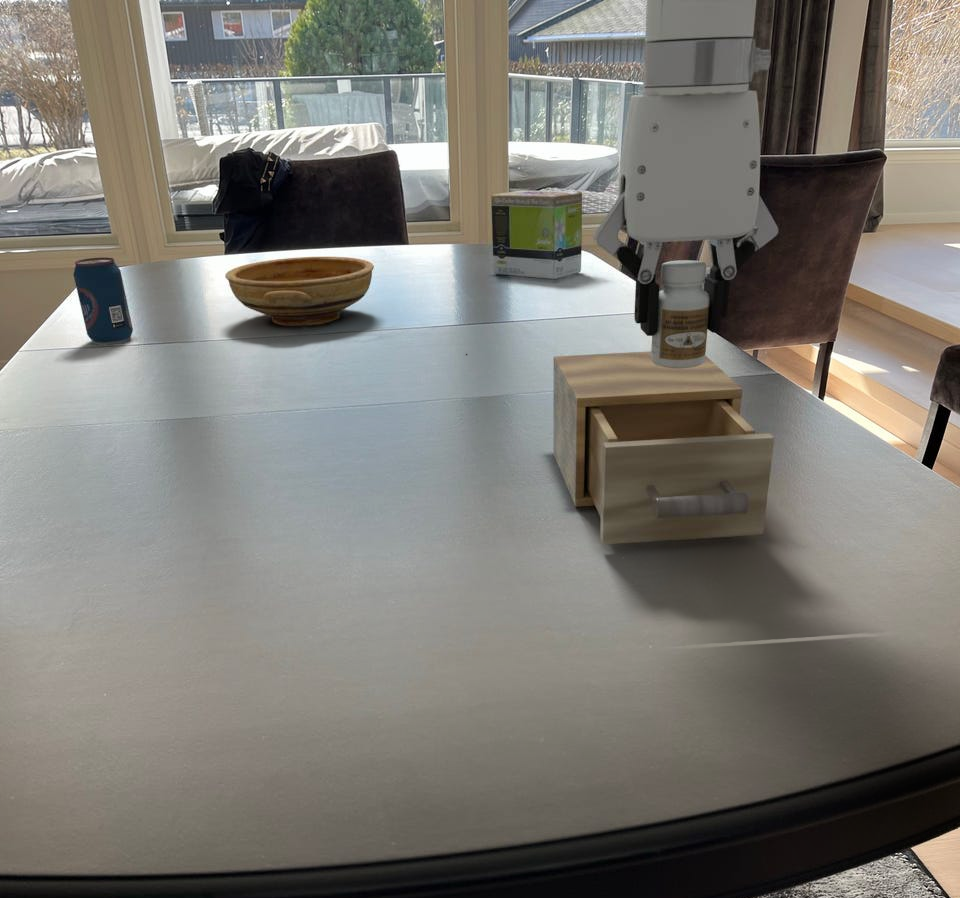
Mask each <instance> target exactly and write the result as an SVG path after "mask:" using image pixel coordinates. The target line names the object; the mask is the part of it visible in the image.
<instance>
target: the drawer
mask: <svg viewBox="0 0 960 898" xmlns="http://www.w3.org/2000/svg"><path fill="white" fill-rule="evenodd" d="M774 444H775V436H773V435H772V434H771V433H770V432H767V433H766V432H765V433H756V430H755V428H753V427H752V425H750V424H749V423H748V422H747V421H746V420H745V419H744V418H743V417H742V416H741V414H740V415H739V414H738V413H737V412H736V411H735V410H734V409H733V408H732V407H731V406H730V405H729V404H728V403H727V402H726V401H725V400H724V399H713V400H695V401H677V402H660V403H642V404H624V405H606V406H589V407H586V414H585V464H584V482H585V484H586V487H587V489H588V491H589V493H590V495H591V497H592V500H593V502H594V504H595V508H596V510H597V513H598V515H599V517H600V527H599V529H600V531H599V539H600V541H601V544H602V545H615V544H618V545H619V544H631V543H633V544H634V543H647V542H648V543H649V542H662V541H663V542H664V541H665V542H666V541H680V540H694V539H695V540H696V539H698V540H699V539H711V538H713V539H714V538H726V537H743V536H761V535H763V534H764V527H765V520H766V517H765V516H766V510H767V503H768V495H769V486H770V477H771V470H772V461H773V452H774V446H775V445H774Z"/></svg>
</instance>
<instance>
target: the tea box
mask: <svg viewBox="0 0 960 898" xmlns="http://www.w3.org/2000/svg"><path fill="white" fill-rule="evenodd" d="M490 198H491V199H490V201H491V204H490V205H491V236H492V237H491V239H492V240H491V241H492V265H493V266H492V267H493V270H494V271H493V270H492V271H493V274H494V275H504V276H516V277H517V276H518V277H530V278H541V279H550V280H556V279H562V278H564V277H565V278H566V277H569V276H572V275H576V274H578V273H581V271H582V250H583V249H582V247H583V246H582V245H583V244H582V243H583V242H582V241H583V236H582V235H583V192H582V191H576V190H575V191H574V190H571V191H565V190H563V191H562V190H529V189H528V190H526V189H525V190H521V189H520V190H513V191H506V192H501V193H494V194H492V195H490Z"/></svg>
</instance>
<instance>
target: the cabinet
mask: <svg viewBox="0 0 960 898" xmlns="http://www.w3.org/2000/svg"><path fill="white" fill-rule="evenodd" d="M742 398H743V388H742V387H741V386H740V385H739V384H738V383H737V382H736V381H735V380H733V379H732V378H731V377H730V376H729V375H728V374H727V373H726V372H724V370H722V369H721V368H720V367H719V366H718V365H717V364H716V363H715V362H714V361H712V360H711V359H710V358H709V357H708V356H707V355H705V360H704V362H703V363H702V364H701V365H699V366H696V367H691V368H667V367H662V366H658V365H656V364H654V363H653V362H652V361H651V350H650V351H633V352H630V351H629V352H614V353H613V352H612V353H595V354H575V355H559V356H556V355H555V356H553V399H552V400H553V409H552V411H553V417H552V418H553V421H552V422H553V423H552V425H553V429H552V430H553V431H552V434H553V437H552V438H553V440H552V441H553V442H552V443H553V444H552V445H553V447H552V449H553V451H552V454H553V456H554V458H555V461H556V464H557V466H558V468H559V470H560V473H561V475H562V478H563V481H564V483H565V485H566V488H567V491H568V492H569V495H570V498H571V500H572V502H573V505H574V507H575V508H576V507H591V506H592V507H593V506H595V504H594V502H593V500H592V497H591V495H590V493H589V491H588V489H587V487H586V484H585V482H584V464H585V414H586V407H589V406H606V405H624V404H642V403H660V402H677V401H695V400H713V399H724V400H725V401H726V402H727V403H728V404H729V405H730V406H731V407H732V408H733V409H734V410H735V411H736V412H737V413H738V414H739V415H740V416H741V408H742V400H743V399H742ZM595 507H596V506H595Z"/></svg>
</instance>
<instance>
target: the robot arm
mask: <svg viewBox="0 0 960 898" xmlns="http://www.w3.org/2000/svg"><path fill="white" fill-rule="evenodd" d="M645 9H646V11H645V33H644V34H645V35H644V41H645V42H644V55H643V56H644V59H643V78H642V79H643V80H642V81H643V82H642V83H643V84H642V86H643V87H642V94H634V95H633V94H632V95H631V97H630V101H629V105H628V110H627V115H626V121H625V127H624V134H623V141H622V147H621V157H620V159H621V160H620V167H619V179H618V189H617V190H618V191H617V200H616V201H615V202H614V204H613V205H612V207H611V209H610V210H609V211H608V213H607V214H606V216H605V217H604V219H603V220H602V221H601V223H600V224H599V226H598V228H597V229H596V231H595V232H594V234H593V241H594V243H595V244H596V245H597V246H599V247H600V248H601V249H603V250H604V251H605V252H607V253H608V254H609V255H611V256H612V257H614V258H615V259H616V260H618V262H619V263H620V264H622V266H623V267H624V268H625V269H626V270H627V271H628V272H629V273H630V274H631V275H632V276H633V278H634V279H635V293H634V317H633V318H634V322H635V323H636V324H640V325H639V327H640V330H641V331H642V332H643V333H644V334H645V335H646V336H647V337H652V336H654V335H655V334H657V325H658V307H659V291H660V285H659V284H658V283H657V282H656V274H655V273H656V269H657V267H658V266H657V265H658V261H659V258H660V254H661V251H662V247H663V244H664V243H672V242H695V241H696V242H697V241H707V244H708V251H709V257H710V265H711V267H710V268H709V273H706V278H705V279H704V280H705V283H704V284H703V291H705V292H707V293H708V295H709V298H710V305H709V319H708V329H707V331H709V332H711V333H712V334H713V333H714V334H715V333H720V331H721V323H722V320H726V319H727V315H728V306H729V297H730V284H731V280H733V279H734V278H735V277H736V275H737V273H738V271H739V270H740V269H741V267H743V265H745V263H747V261H749V259H751V257H753V255H754V254H755V252H757V251H758V250H760V249H761V248H763V247H764V246H765V245H766V244H768V243H769V242H770V241H772V240H773V239H774V238H776V237H777V235H779V227H778V225H777V223H776V221H775V220H774V218H773V216H772V214H771V212H770V211H769V209H768V207H767V206H766V204H765V202H764V200H763V199H762V196H761V195H760V180H761V130H760V129H761V128H760V127H761V126H760V111H759V101H758V93H757V92H758V91H757V90H749V88H750V87H749V86H750V82H751V83H752V82H753V77H754V75H755V74H758V73H759V72H765V71H768V70H769V69H770V66H771V61H772V53H771V50H770V49H761V48H760V47H757V44H756V42H757V41H756V39H754V38H753V37H754V32H755V31H754V30H755V20H756V9H757V0H646V8H645ZM620 231H621V232H623V233H625V234H627V235H628V236H629V237H630V238H631V239H634V240H635V241H637V246H636V250H635V251H634V250H633V249H632V248H631V247H630V246H628V245H627V244H626V243H624V242H623V241H622V240H621V239H620V238H619V232H620ZM741 237H742V238H741ZM735 238H736V239H737V238H739V239H737V240H736V241H735V242H734V239H735Z"/></svg>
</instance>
